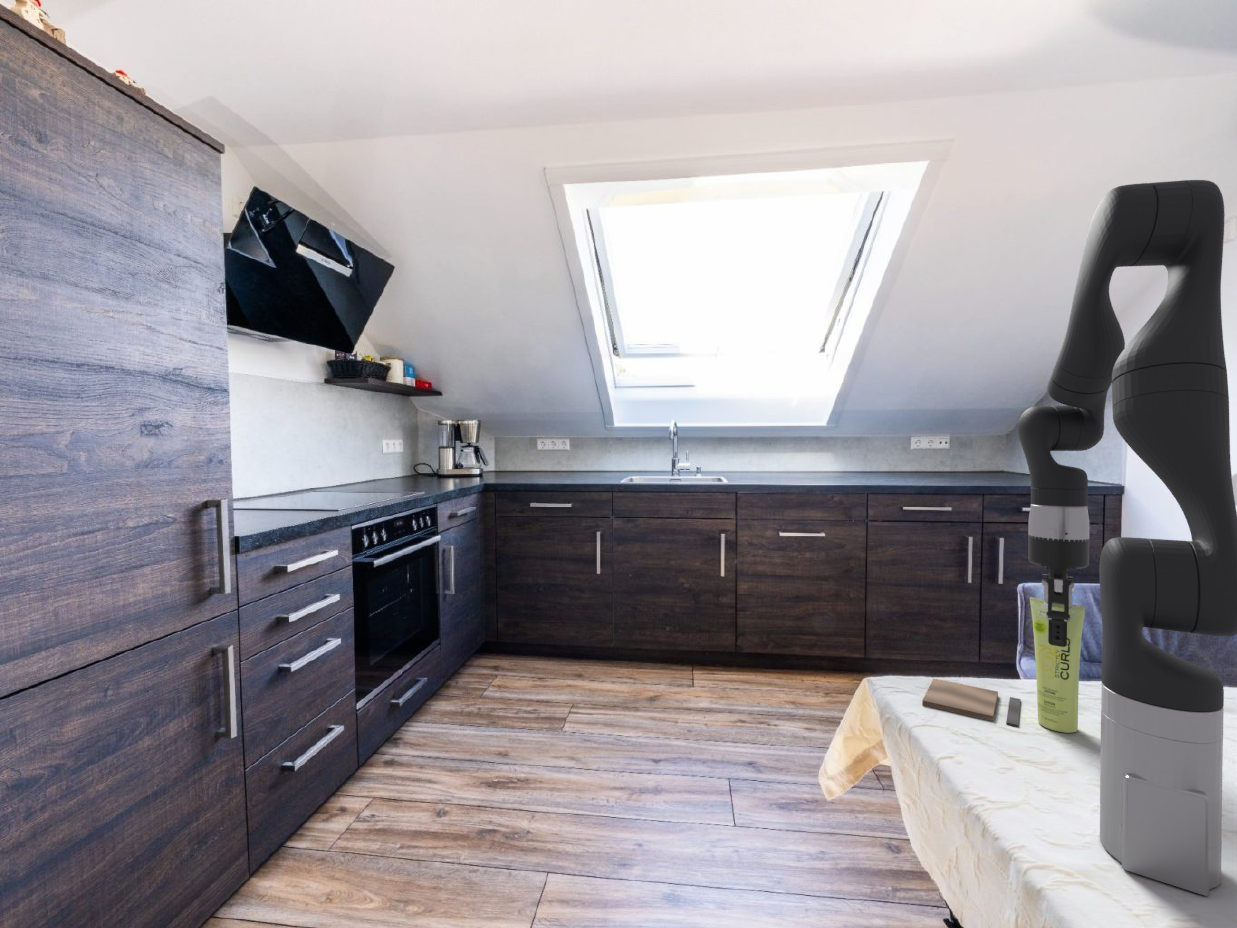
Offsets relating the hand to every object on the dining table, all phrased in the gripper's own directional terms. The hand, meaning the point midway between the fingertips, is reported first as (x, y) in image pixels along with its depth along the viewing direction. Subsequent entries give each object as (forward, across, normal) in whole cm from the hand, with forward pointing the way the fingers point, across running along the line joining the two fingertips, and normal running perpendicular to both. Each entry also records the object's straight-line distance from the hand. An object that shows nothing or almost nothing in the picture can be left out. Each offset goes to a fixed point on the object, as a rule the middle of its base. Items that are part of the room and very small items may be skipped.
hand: (1057, 638), depth 89 cm
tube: (+14, 0, 0) cm, 14 cm away
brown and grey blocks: (+14, +2, +11) cm, 18 cm away
